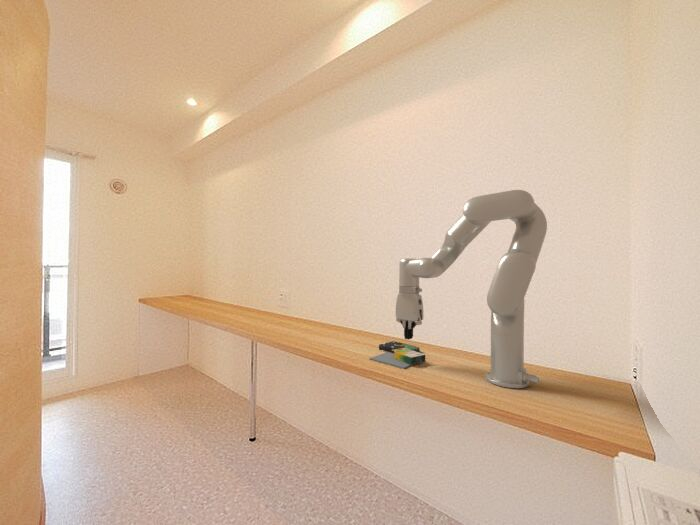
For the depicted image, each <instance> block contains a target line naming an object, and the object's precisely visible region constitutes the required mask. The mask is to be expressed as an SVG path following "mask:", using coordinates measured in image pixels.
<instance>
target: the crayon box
mask: <svg viewBox="0 0 700 525" xmlns="http://www.w3.org/2000/svg"><path fill="white" fill-rule="evenodd" d="M400 349H401V350H398V349H394V350H392V351H394V353H393V354H394V358H395V359H398V360H400V361H403V362H405V363H408V364H410V365H412V366H414V365H416V364H422V363H426V354H424V353H421V352H416V351H412V350H410V349H407V348H400ZM413 364H414V365H413Z"/></svg>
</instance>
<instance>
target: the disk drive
mask: <svg viewBox="0 0 700 525" xmlns="http://www.w3.org/2000/svg"><path fill="white" fill-rule="evenodd" d="M400 348H407V349H410V350H412V351H416V352H419V353H421V349H420V347H419V346H416V345H411V344H407V343H403V342H397V341H395V340H393V341H388V342H385V343H380V344H378V350H379V351H382V350H383V352H385V353H386V352H389V353H393V354H394V351H392V350H394V349H398V350H401V349H400Z"/></svg>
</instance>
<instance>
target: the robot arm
mask: <svg viewBox="0 0 700 525" xmlns="http://www.w3.org/2000/svg"><path fill="white" fill-rule="evenodd" d="M502 220H510V221H512V222H514V223H515V230H514V233H513V236H512V239H511V242H510V245H509V249H508V250H507V252H506V253H504V254H503V255H502V256H501V258H500V260H499V261H498V264H497V266H496V270H495V272H494V274H493V278H492V280H491V283H490V285H489V288H488V291H487V295H486V303H487V306H488V309H490V311H491V312H490V371H488V372H486V373H485V380H486V381H487V382H489V383H490V384H494V386H495V385H496V386H498V387H503V388H508V389H524V388H528V387H529V386H530V383H533V384H537V385H539V384H540V381H541V380H540V377H539V376H537V375H536V374H531V373H529V372H528V371H527V368H525V367H524V366H525V365H524V364H525V363H524V361H525V359H524V357H525V355H524V354H525V352H524V349H525V348H524V346H525V338H524V337H525V336H524V335H525V334H524V333H525V297H526V294H527V292H528V290H529V286H530V283H531V281H532V279H533V275H534V273H535V271H536V266H537V262H538V258H539V256H540V253H541V250H542V247H543V243H544V242H545V241H544V240H545V238H546V235H547V232H548V231H547V230H548V221H547V218H546V215H545V213H544V211H543V210H542V208H541V207H539V206H538V204H536V203H535V198H534V197H533V196H532V194H531V193H529V191H526V190H523V189H513V190H512V189H511V190H505V191H501V192H495V193H488V194H482V195H479V196H474V197H472V198H470V199H468V200H467V201H466V203H464V206H463V208H462V215H461V216H460V217H459V218H458V219H457V220H456V221H455V222H454V223H453V224H452V225H451V227H450V228H449V229H448V230H447V231H446V232H445V236H444V241H443V243H442V245H441V246H440V248H439V249H438V251H437V250H436V253H435V254H433V255H432V257H423V258H413V257H412V258H411V257H410V258H401V259H400V261H399V265H398V266H399V268H398V269H399V271H398V273H399V274H398V275H399V278H398V279H399V280H398V283H399V285H398V290H399V291H398V293H397V297H396V302H395V320H396V322H398V323H400V324H401V326H402V328H403V336H404V340H411V339H413V337H414V329H415V327H416V326H420V325H422V324H423V320H424V303H423V302H424V301H423V297H422V294H420V293H422V292H423V289H422V288H420V278H422V279H432V278H433V279H434V278H438V277H440V276H442V275H443V274H444V273H445V272H446V271H447V270H448V269H449V268H450V267H451V266H452V265H453V264H454V263H455V261H456V260H457V259H458V258H459V256H460V255H461V254H462V253H464V250H465V249H466V248H467V246H468V245H469V244H471V242H472V241H474V239H475V238H477V236H478V235H479V234H481V233H482V231H483V230H485V228H486V227H487V226H488V225H490V223H491V222H494V221H502Z"/></svg>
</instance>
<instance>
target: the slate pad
mask: <svg viewBox="0 0 700 525" xmlns="http://www.w3.org/2000/svg"><path fill="white" fill-rule="evenodd" d="M369 360H370V361H373V362H378V363H380V364H384V365H388V366H392V367H396V368H399V369H404V370H405V369H407V368H410V367H411V366H414V365H415V364H413V365H410V364H408V363H405V362H403V361H400V360H398V359H395V358H394V353H390V352H386V351H385V352H383V353H380V354H377V355H375V356H371V357H369Z"/></svg>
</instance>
